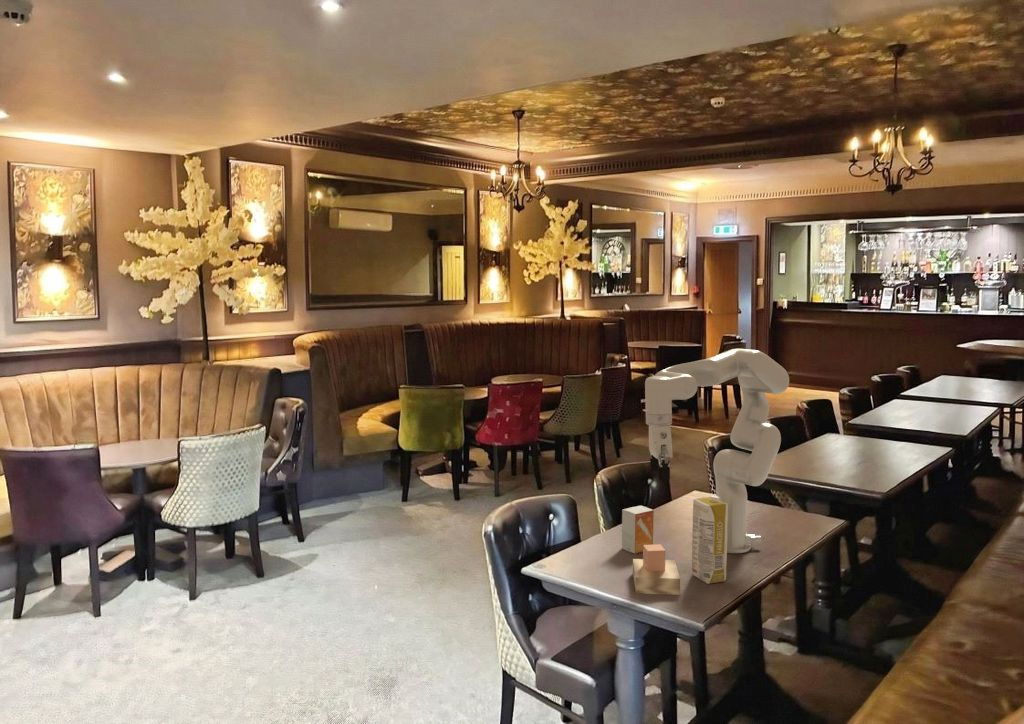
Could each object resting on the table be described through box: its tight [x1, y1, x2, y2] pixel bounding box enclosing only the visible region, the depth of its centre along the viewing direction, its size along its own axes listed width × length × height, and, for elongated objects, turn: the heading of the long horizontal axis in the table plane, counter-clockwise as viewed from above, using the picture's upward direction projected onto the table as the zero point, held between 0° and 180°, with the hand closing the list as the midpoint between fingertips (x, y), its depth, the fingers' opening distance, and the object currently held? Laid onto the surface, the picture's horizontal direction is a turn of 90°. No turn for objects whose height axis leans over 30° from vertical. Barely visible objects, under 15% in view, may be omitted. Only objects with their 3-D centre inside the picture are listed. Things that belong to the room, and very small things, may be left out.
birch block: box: [632, 558, 681, 596], centre depth 214 cm, size 12×14×5 cm
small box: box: [621, 504, 655, 555], centre depth 242 cm, size 8×6×13 cm
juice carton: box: [691, 495, 728, 585], centre depth 217 cm, size 9×8×24 cm
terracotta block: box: [642, 543, 666, 572], centre depth 214 cm, size 5×5×6 cm
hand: (659, 475), depth 224 cm, fingers open, 9 cm apart
